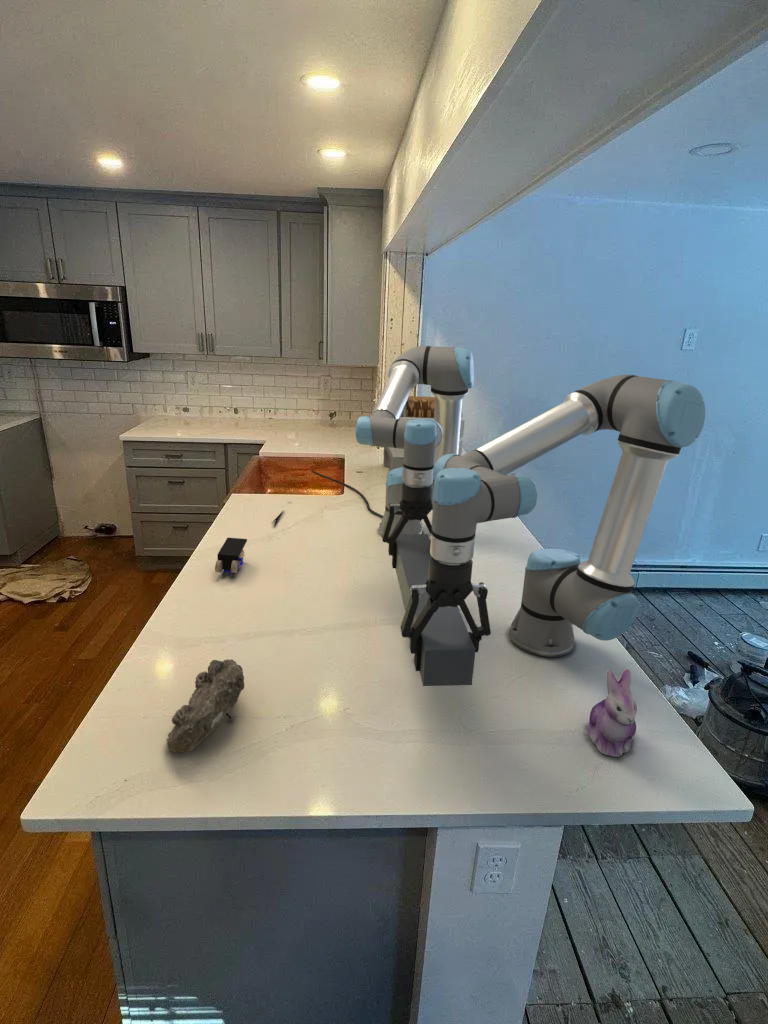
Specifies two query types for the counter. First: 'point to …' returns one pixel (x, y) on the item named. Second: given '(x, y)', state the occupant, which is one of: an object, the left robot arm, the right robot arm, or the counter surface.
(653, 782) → the counter surface
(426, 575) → the long dark grey beam
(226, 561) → the black wheeled cart
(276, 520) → the feather
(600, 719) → the figurine
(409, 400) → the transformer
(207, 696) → the fossil
